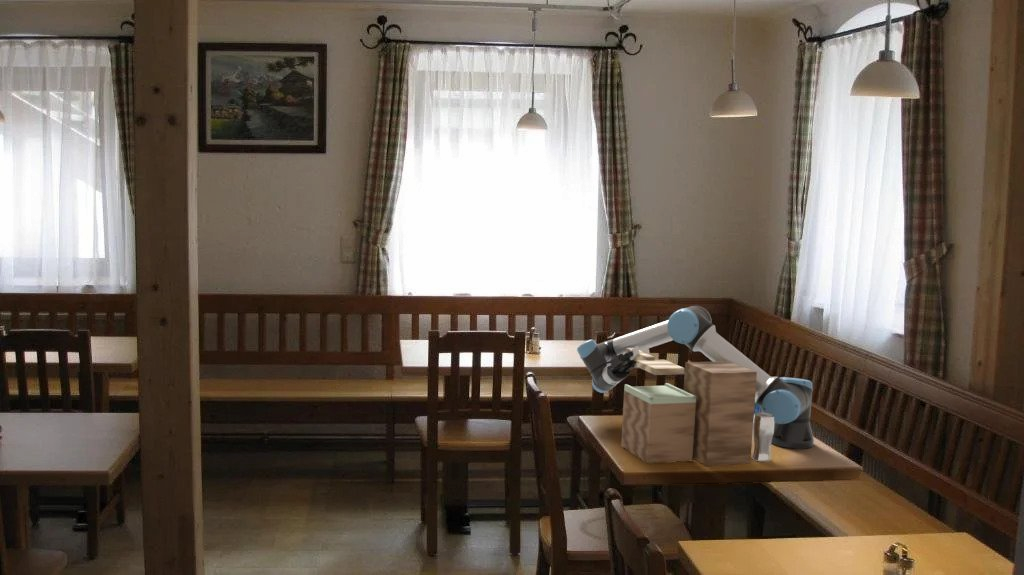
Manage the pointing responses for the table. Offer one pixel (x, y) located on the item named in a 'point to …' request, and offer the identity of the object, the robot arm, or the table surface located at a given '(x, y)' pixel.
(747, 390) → the tall crate
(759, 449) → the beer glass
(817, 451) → the table surface
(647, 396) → the tray
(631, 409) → the wooden box
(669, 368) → the cream cross-shaped block
